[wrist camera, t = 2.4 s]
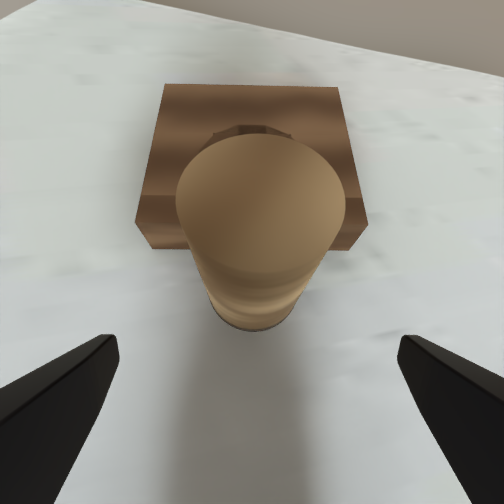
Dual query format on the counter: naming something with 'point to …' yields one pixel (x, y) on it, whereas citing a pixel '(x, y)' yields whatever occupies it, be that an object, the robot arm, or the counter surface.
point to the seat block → (240, 123)
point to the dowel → (258, 223)
